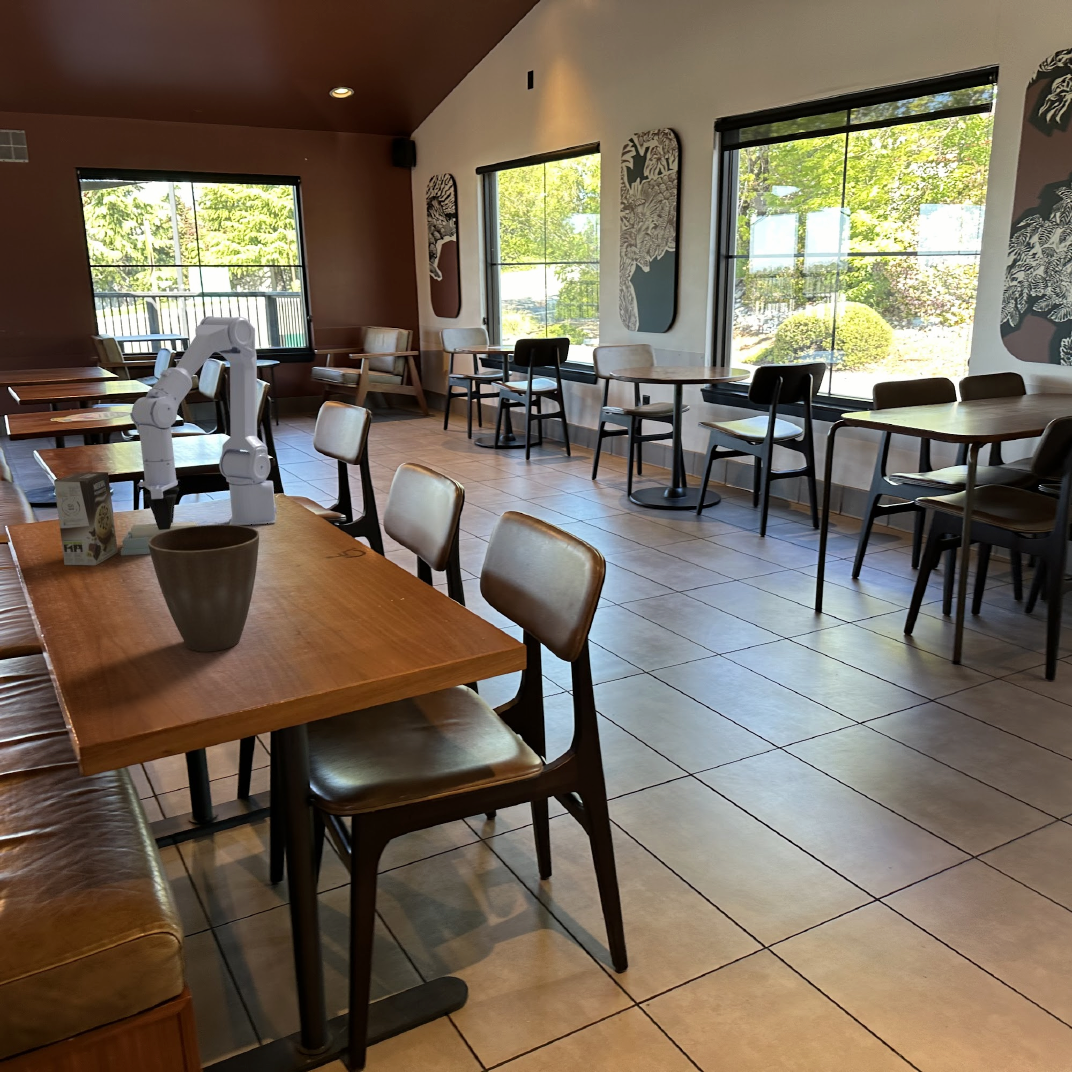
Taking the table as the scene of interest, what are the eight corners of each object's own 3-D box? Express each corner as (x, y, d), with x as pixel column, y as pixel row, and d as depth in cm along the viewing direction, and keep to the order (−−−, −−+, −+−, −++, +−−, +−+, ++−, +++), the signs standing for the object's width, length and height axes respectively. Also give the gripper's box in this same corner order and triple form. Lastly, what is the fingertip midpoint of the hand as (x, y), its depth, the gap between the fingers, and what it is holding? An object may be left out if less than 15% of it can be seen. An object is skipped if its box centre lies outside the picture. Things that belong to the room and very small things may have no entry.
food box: (97, 565, 177) (86, 480, 173) (63, 565, 177) (51, 480, 173) (119, 552, 186) (109, 471, 182) (86, 552, 186) (76, 471, 182)
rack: (211, 538, 196) (210, 525, 195) (208, 549, 187) (206, 535, 187) (128, 543, 192) (127, 530, 191) (121, 555, 184) (119, 541, 183)
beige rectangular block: (198, 536, 192) (197, 521, 191) (197, 540, 189) (195, 525, 189) (134, 540, 189) (133, 524, 189) (132, 544, 187) (130, 528, 186)
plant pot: (230, 618, 149) (220, 518, 145) (288, 639, 140) (280, 534, 136) (139, 645, 138) (127, 538, 134) (196, 670, 129) (185, 557, 125)
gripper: (141, 454, 191) (149, 519, 195) (130, 467, 177) (138, 537, 181) (179, 452, 193) (185, 517, 196) (170, 465, 179) (177, 534, 183)
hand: (165, 527), depth 189 cm, fingers closed on beige rectangular block, 3 cm apart
